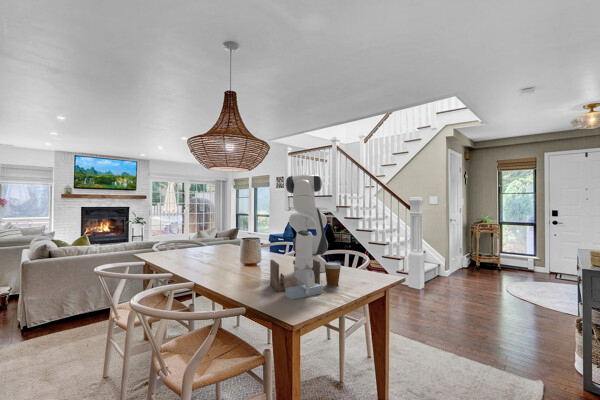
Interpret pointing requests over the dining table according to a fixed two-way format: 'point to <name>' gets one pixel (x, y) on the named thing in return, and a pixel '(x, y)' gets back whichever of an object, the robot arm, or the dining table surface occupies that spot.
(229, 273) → the dining table surface
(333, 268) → the disposable coffee cup
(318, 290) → the shelf board
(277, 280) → the shelf rack
